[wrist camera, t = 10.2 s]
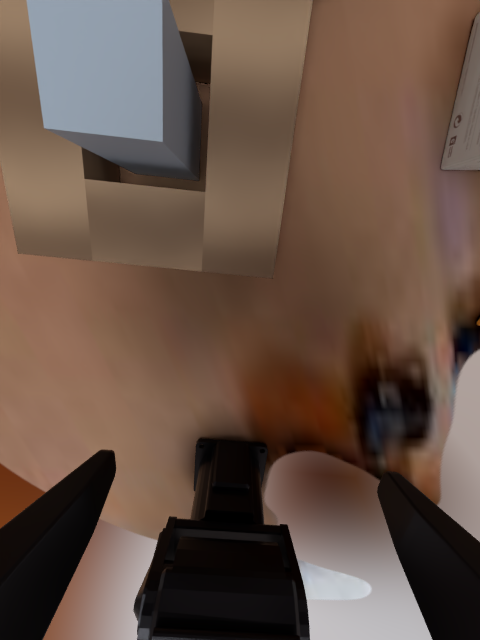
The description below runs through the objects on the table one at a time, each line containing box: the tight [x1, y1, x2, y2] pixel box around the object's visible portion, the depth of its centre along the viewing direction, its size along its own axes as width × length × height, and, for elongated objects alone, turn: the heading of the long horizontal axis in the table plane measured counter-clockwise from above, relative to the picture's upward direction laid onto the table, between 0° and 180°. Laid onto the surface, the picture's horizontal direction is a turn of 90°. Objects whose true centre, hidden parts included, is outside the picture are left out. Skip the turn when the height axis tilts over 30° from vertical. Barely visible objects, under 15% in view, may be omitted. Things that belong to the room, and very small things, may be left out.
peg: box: [27, 0, 202, 181], centre depth 12 cm, size 4×4×8 cm
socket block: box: [0, 0, 313, 279], centre depth 14 cm, size 14×14×4 cm
